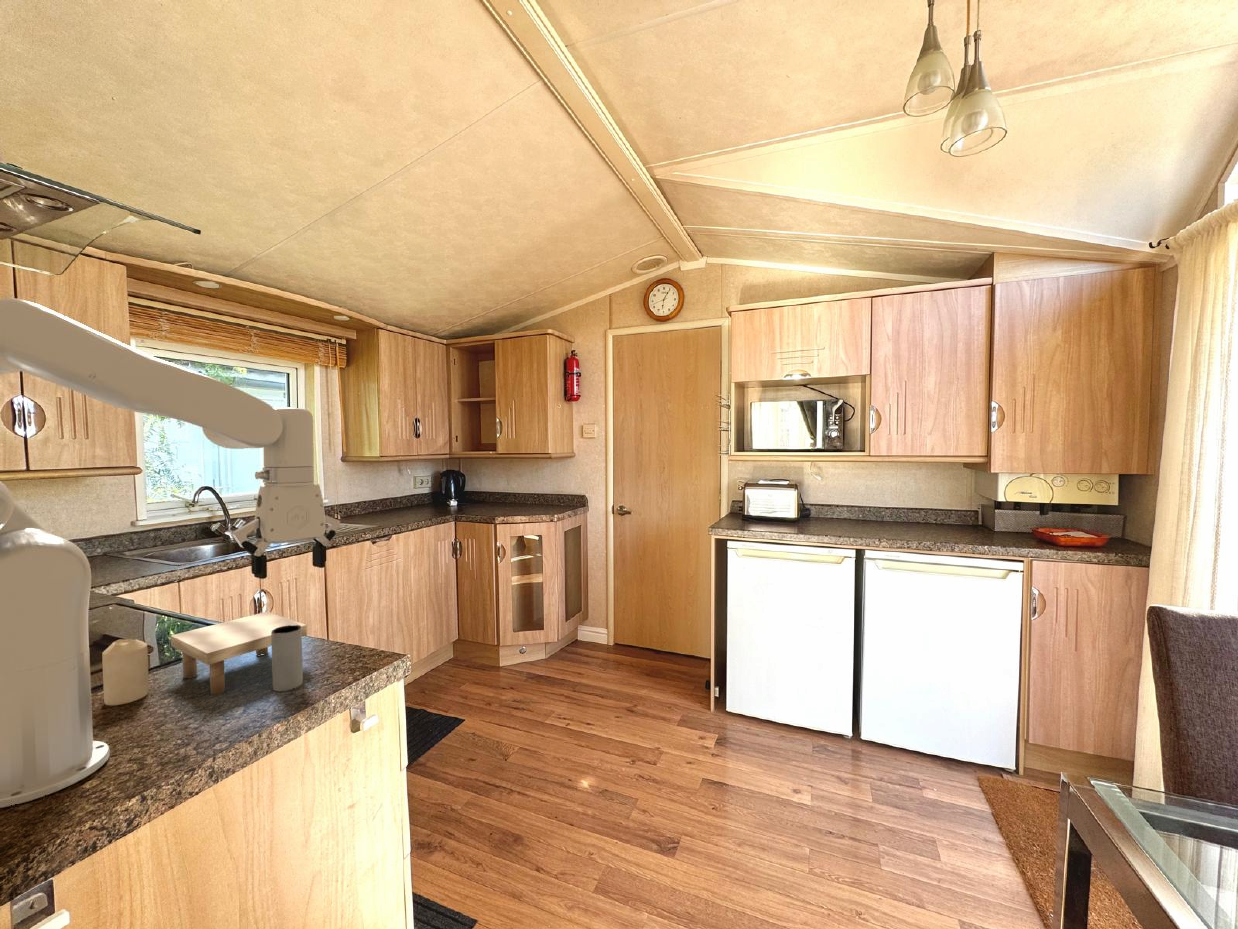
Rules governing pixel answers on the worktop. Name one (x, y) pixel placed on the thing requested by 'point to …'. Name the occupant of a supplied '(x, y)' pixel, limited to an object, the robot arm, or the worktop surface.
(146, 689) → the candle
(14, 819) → the worktop surface
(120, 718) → the worktop surface
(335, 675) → the worktop surface
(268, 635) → the stool
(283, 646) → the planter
